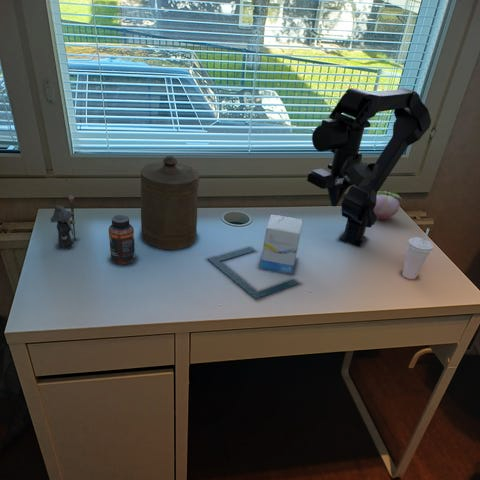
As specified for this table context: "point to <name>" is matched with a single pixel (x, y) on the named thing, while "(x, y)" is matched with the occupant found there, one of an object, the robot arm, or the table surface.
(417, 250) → the smoothie
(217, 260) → the frame
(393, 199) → the decorative fruit
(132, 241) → the supplement bottle
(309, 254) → the table surface
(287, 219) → the ink box
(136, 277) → the table surface
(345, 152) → the robot arm
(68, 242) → the wizard figurine
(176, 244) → the wooden container
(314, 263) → the table surface
